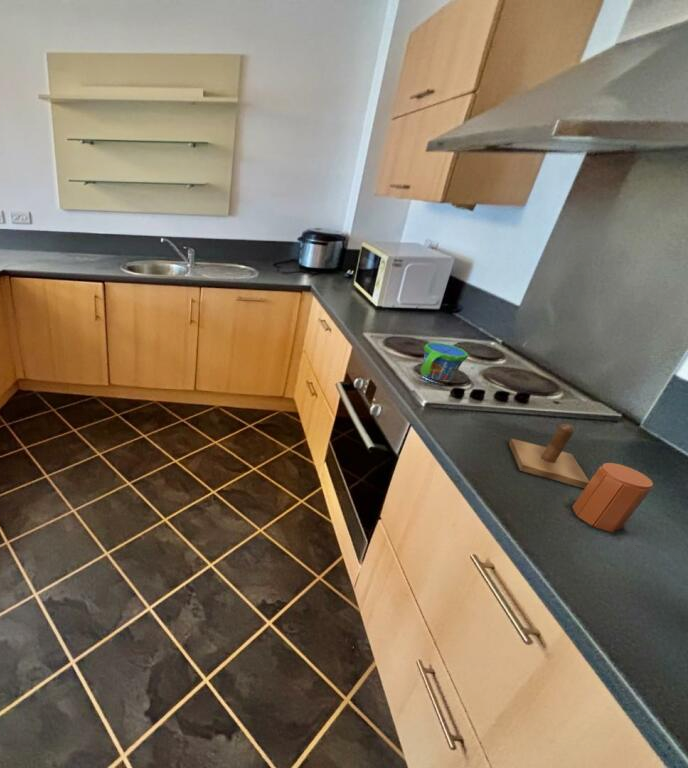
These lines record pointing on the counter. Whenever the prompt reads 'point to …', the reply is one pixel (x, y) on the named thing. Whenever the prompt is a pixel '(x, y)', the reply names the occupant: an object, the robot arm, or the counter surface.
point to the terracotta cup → (612, 496)
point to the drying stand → (550, 458)
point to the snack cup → (441, 361)
